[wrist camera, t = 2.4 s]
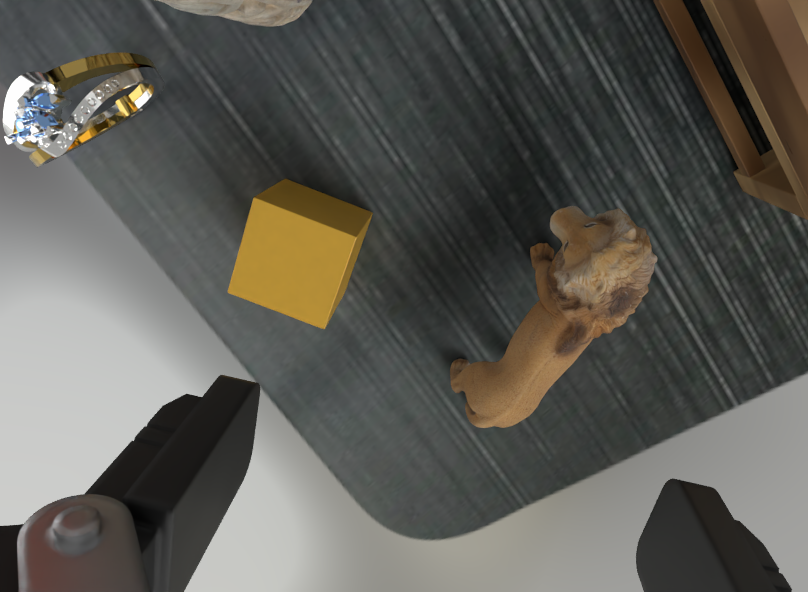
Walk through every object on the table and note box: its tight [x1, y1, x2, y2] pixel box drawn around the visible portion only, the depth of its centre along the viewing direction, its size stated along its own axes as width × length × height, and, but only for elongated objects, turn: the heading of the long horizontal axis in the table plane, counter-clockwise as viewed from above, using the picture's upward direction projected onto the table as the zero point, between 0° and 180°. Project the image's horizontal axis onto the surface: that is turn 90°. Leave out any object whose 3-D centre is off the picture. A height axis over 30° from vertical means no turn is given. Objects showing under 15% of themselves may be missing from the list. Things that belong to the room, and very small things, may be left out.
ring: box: [3, 53, 165, 167], centre depth 27 cm, size 7×3×8 cm, turn 119°
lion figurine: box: [450, 206, 657, 428], centre depth 28 cm, size 15×5×9 cm, turn 158°
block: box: [228, 179, 373, 329], centre depth 30 cm, size 5×5×5 cm
